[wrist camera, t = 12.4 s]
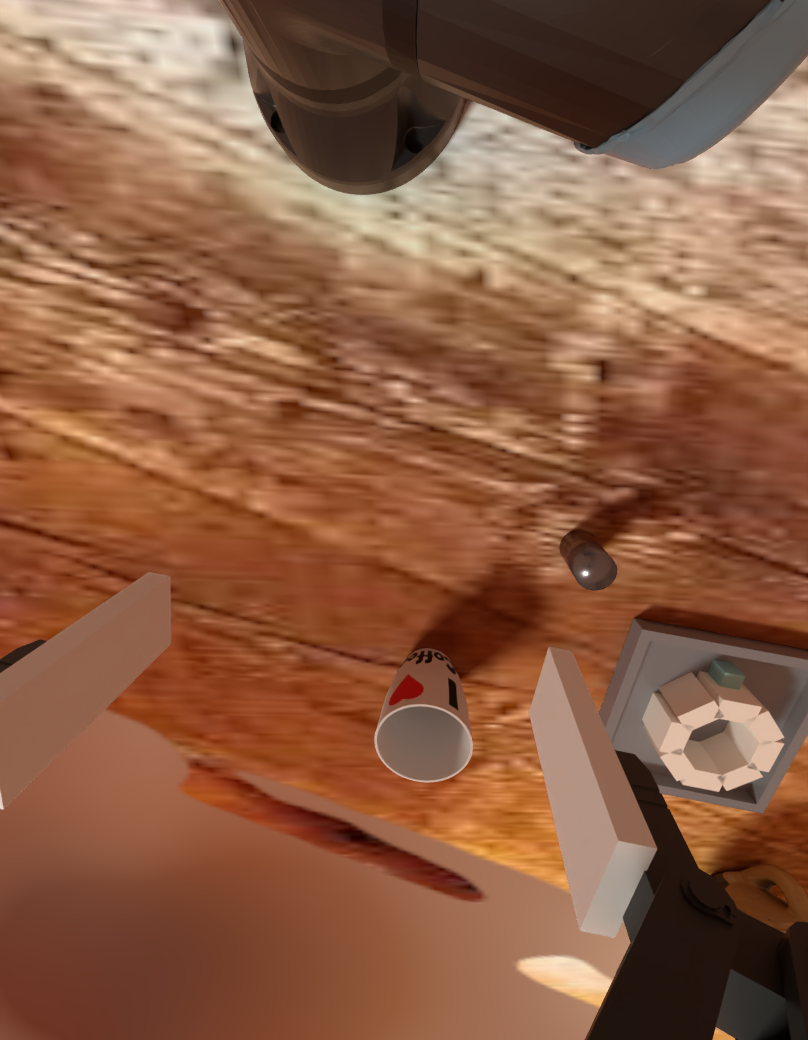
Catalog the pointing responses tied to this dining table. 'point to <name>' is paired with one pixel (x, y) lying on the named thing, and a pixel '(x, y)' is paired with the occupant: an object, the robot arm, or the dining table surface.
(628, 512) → the dining table surface
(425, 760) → the cup
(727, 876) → the bowl
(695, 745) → the ring
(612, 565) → the capsule
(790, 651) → the tray
